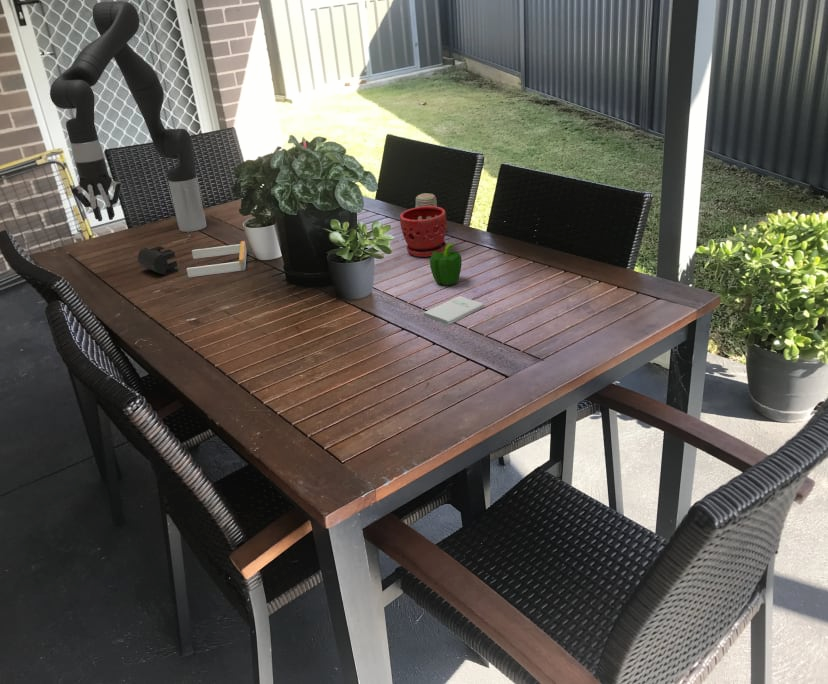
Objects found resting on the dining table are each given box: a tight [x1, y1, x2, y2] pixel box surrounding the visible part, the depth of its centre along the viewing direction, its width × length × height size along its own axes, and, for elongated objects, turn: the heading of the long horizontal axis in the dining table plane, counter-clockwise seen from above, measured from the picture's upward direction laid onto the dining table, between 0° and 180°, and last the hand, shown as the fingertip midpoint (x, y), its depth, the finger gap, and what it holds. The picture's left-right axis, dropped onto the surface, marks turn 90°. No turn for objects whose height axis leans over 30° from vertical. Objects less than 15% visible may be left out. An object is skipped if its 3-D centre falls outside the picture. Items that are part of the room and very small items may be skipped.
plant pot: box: [399, 206, 447, 258], centre depth 209 cm, size 13×13×12 cm
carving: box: [414, 192, 438, 220], centre depth 225 cm, size 6×8×12 cm
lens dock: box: [186, 240, 248, 278], centre depth 215 cm, size 17×16×3 cm
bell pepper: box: [429, 243, 463, 286], centre depth 187 cm, size 8×8×10 cm
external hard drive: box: [423, 295, 485, 326], centre depth 173 cm, size 2×8×12 cm
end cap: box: [137, 245, 179, 276], centre depth 212 cm, size 10×7×7 cm
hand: (105, 219), depth 204 cm, fingers closed
